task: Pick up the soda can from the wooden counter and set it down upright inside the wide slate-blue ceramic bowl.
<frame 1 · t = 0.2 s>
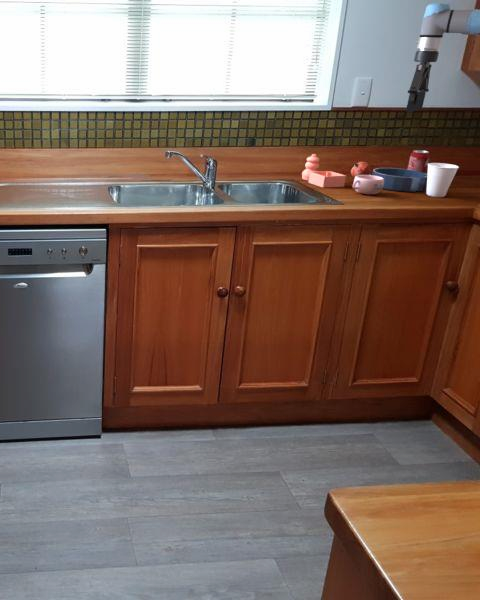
hand: (413, 110, 231), 28 cm above the table, tool pointing down, fingers open, 13 cm apart
bowl: (397, 186, 234), on the table
mug: (364, 194, 222), on the table
soda can: (413, 181, 245), on the table
cup: (435, 196, 222), on the table
pottery: (318, 182, 239), on the table
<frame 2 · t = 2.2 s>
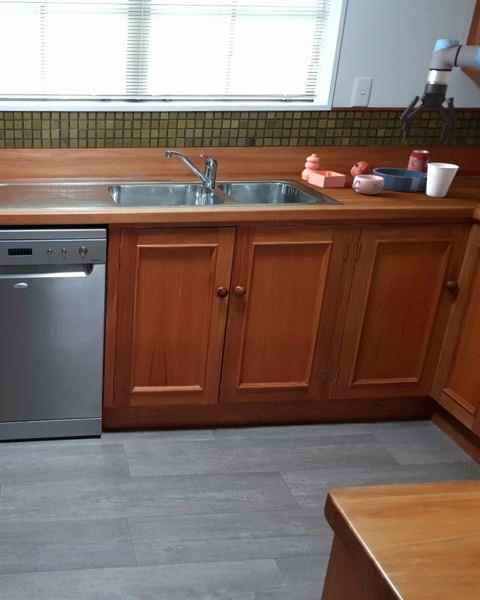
hand: (423, 140, 239), 16 cm above the table, tool pointing down, fingers open, 13 cm apart
nothing on the table moved.
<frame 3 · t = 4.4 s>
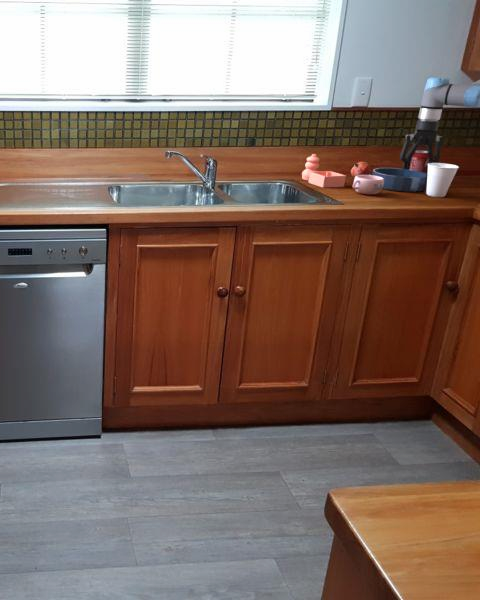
hand: (414, 179, 244), 1 cm above the table, tool pointing down, fingers closed on soda can, 7 cm apart
soda can: (413, 181, 245), on the table, touching gripper
everything else where it was.
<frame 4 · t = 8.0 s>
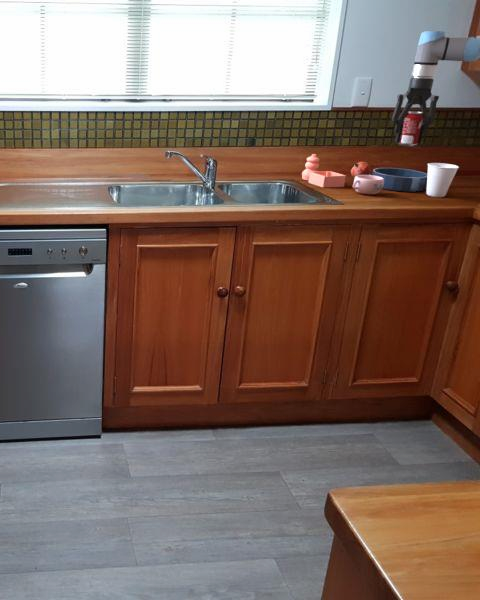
hand: (407, 142, 228), 17 cm above the table, tool pointing down, fingers closed on soda can, 7 cm apart
soda can: (406, 145, 228), point 16 cm above the table, touching gripper
everything else where it was.
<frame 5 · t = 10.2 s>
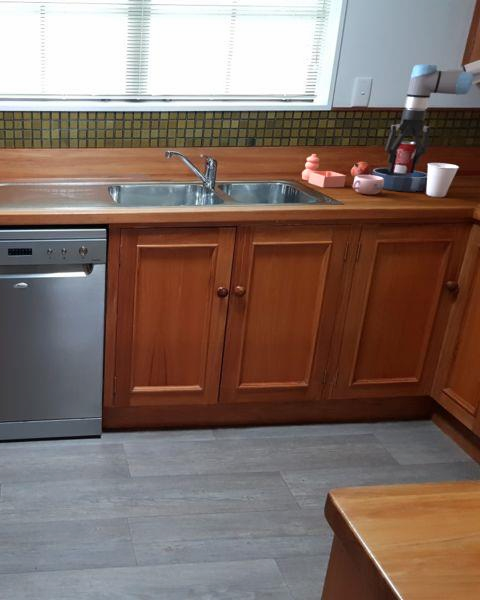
hand: (400, 171, 232), 6 cm above the table, tool pointing down, fingers closed on soda can, 7 cm apart
soda can: (399, 174, 233), point 5 cm above the table, touching gripper
everything else where it was.
when the fingers open (1 cm above the table, at t = 11.7 s): soda can stays where it is, resting on bowl.
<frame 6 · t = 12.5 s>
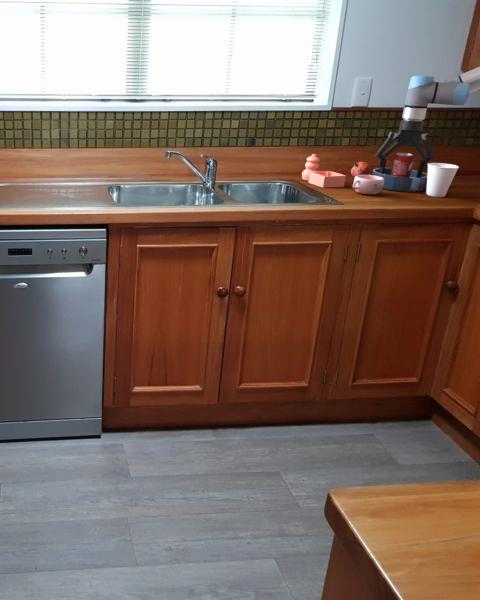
hand: (399, 177, 233), 4 cm above the table, tool pointing down, fingers open, 13 cm apart
soda can: (397, 186, 234), resting on bowl
everything else where it was.
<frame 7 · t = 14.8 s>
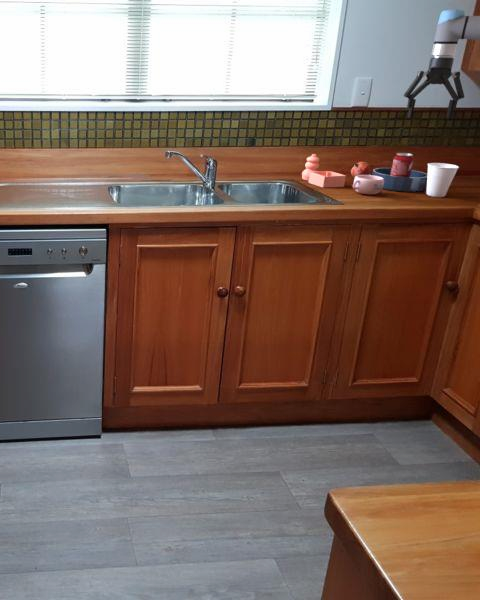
hand: (428, 117, 228), 25 cm above the table, tool pointing down, fingers open, 13 cm apart
nothing on the table moved.
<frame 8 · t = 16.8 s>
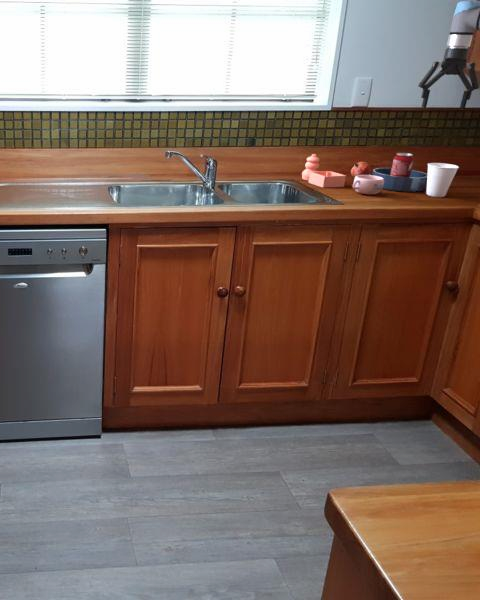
hand: (442, 108, 230), 29 cm above the table, tool pointing down, fingers open, 13 cm apart
nothing on the table moved.
at the end: soda can inside the target area in the bowl (0.0 cm from its centre), point 0.3 cm above the bowl's base; soda can tilted 0°; the gripper is holding nothing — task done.
